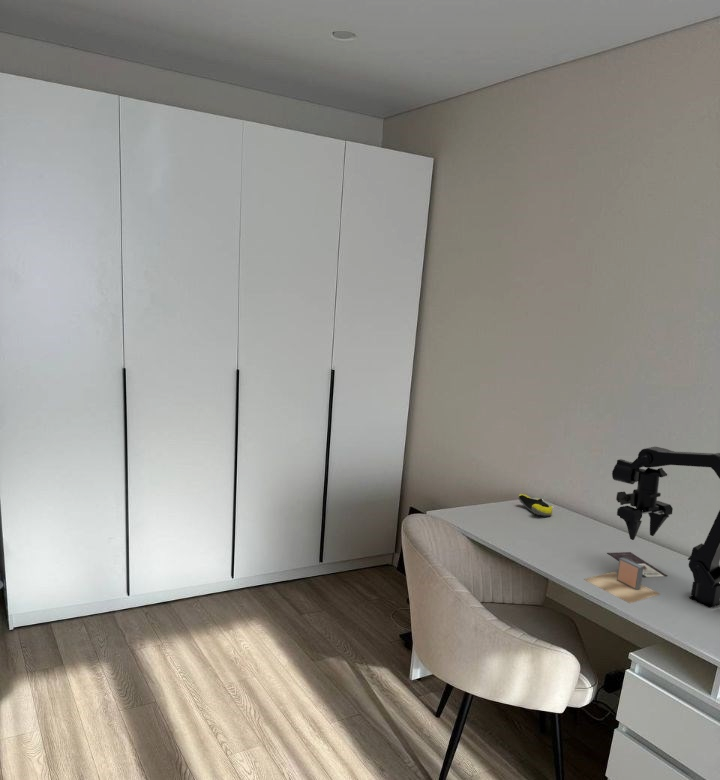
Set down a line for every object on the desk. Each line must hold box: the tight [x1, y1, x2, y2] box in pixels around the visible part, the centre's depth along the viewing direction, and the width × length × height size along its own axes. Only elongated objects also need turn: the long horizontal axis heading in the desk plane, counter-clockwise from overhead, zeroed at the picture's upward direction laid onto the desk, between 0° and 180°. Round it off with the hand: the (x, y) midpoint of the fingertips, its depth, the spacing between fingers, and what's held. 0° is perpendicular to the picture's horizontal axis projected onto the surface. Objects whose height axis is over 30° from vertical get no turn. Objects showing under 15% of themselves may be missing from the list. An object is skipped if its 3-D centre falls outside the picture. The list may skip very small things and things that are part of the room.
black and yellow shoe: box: [518, 493, 555, 518], centre depth 253 cm, size 15×6×10 cm
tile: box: [616, 558, 643, 590], centre depth 192 cm, size 7×2×7 cm, turn 31°
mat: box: [583, 571, 661, 604], centre depth 191 cm, size 16×14×1 cm
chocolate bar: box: [606, 551, 668, 578], centre depth 209 cm, size 9×1×18 cm
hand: (641, 537), depth 199 cm, fingers open, 9 cm apart
